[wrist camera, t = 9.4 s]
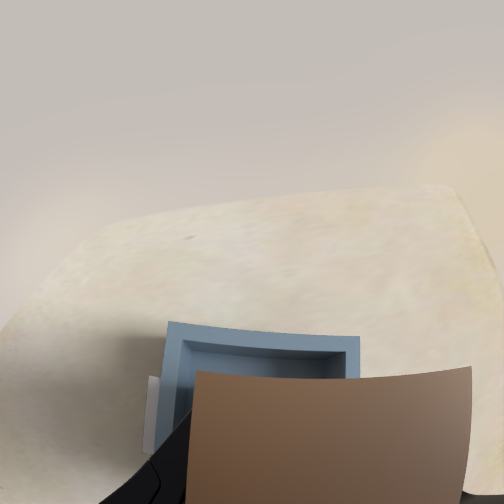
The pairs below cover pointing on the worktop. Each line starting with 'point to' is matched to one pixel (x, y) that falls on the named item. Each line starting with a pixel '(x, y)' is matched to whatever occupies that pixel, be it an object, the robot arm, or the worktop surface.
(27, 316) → the worktop surface
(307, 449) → the upright wooden block
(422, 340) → the worktop surface
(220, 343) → the holder
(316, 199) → the worktop surface
